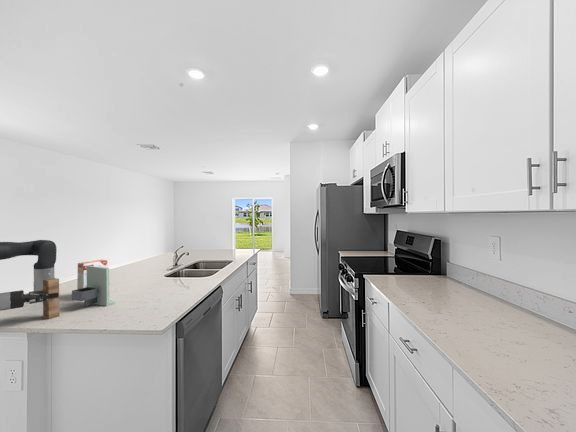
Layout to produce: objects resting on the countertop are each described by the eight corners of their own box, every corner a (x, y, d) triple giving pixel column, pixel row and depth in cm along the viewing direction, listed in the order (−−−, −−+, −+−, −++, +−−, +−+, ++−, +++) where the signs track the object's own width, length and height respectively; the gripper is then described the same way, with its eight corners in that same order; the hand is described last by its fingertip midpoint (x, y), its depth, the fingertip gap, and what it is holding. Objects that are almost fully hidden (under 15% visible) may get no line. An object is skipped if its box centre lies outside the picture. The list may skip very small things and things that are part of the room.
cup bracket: (67, 308, 151) (66, 269, 151) (95, 299, 165) (95, 264, 165) (87, 312, 145) (87, 272, 145) (115, 303, 159) (115, 266, 159)
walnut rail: (43, 318, 137) (42, 279, 137) (53, 314, 141) (53, 277, 141) (48, 319, 136) (48, 280, 135) (59, 316, 140) (59, 278, 139)
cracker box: (83, 301, 163) (83, 263, 163) (76, 299, 165) (76, 262, 165) (107, 294, 176) (107, 259, 175) (101, 293, 178) (101, 259, 178)
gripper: (9, 305, 134) (56, 297, 145) (8, 313, 123) (59, 304, 135) (9, 288, 134) (56, 282, 145) (8, 295, 123) (59, 288, 135)
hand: (57, 293), depth 140 cm, fingers closed on walnut rail, 6 cm apart
